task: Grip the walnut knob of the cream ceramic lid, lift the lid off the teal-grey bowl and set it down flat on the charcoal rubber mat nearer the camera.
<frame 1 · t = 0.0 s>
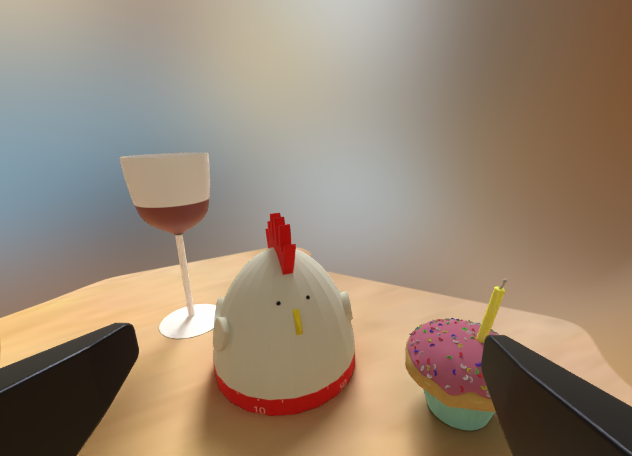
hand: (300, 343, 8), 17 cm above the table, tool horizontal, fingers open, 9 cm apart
kitchen timer: (286, 359, 32), on the table
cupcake: (455, 408, 26), on the table
wineglass: (192, 321, 39), on the table
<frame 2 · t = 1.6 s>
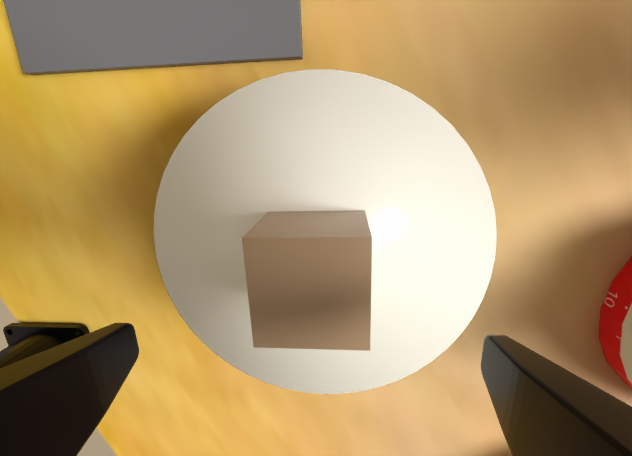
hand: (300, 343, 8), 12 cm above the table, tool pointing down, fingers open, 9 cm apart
lid: (319, 246, 15), point 5 cm above the table, touching bowl
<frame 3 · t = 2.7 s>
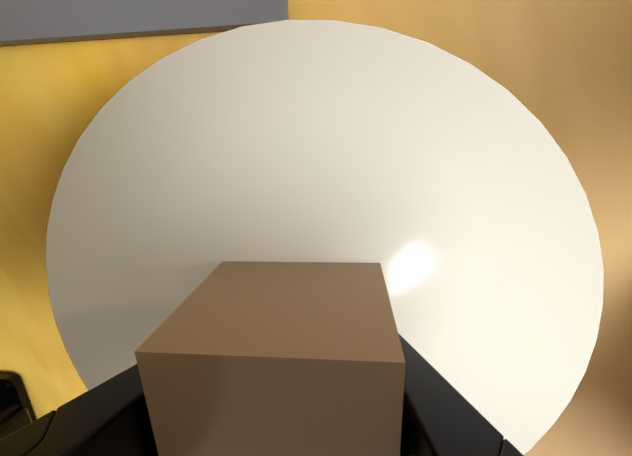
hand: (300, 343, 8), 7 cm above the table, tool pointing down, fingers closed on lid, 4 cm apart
lid: (308, 307, 10), point 5 cm above the table, touching bowl, gripper
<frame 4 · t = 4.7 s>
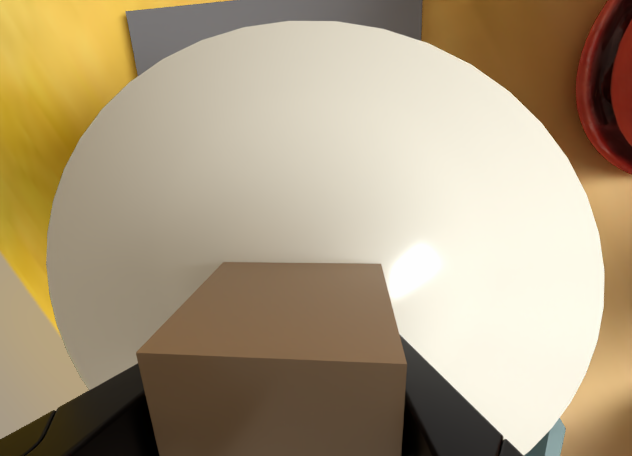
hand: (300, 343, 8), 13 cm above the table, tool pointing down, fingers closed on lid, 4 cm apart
mat: (281, 152, 19), on the table
bowl: (421, 383, 23), on the table
lid: (308, 307, 10), point 11 cm above the table, touching gripper
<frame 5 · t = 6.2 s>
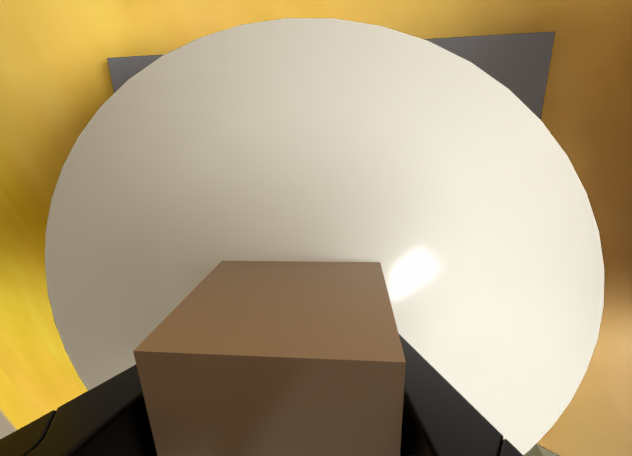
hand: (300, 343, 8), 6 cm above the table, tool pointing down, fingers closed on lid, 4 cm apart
mat: (321, 249, 14), on the table
lid: (307, 306, 10), point 5 cm above the table, touching gripper
when the fingers open (4 cm above the table, at t = 7.0 s): lid drops 1 cm, resting on mat.
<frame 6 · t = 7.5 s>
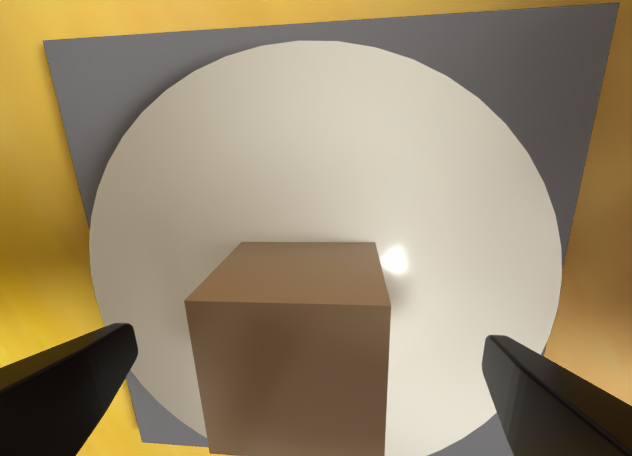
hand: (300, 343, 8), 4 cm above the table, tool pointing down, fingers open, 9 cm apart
mat: (315, 277, 12), on the table
lid: (313, 284, 11), point 1 cm above the table, touching mat
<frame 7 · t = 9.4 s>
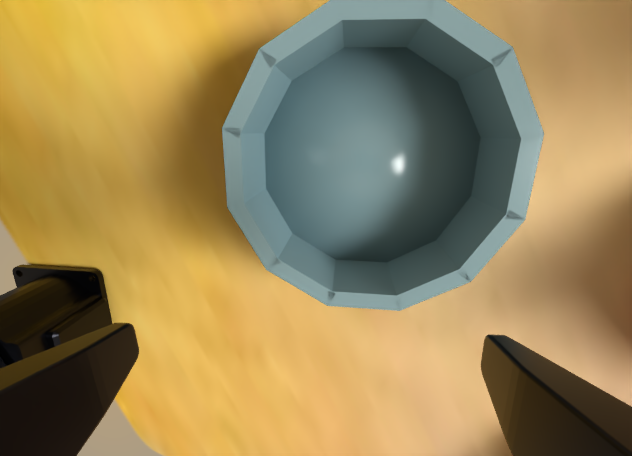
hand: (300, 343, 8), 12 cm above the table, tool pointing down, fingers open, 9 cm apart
bowl: (366, 162, 18), on the table
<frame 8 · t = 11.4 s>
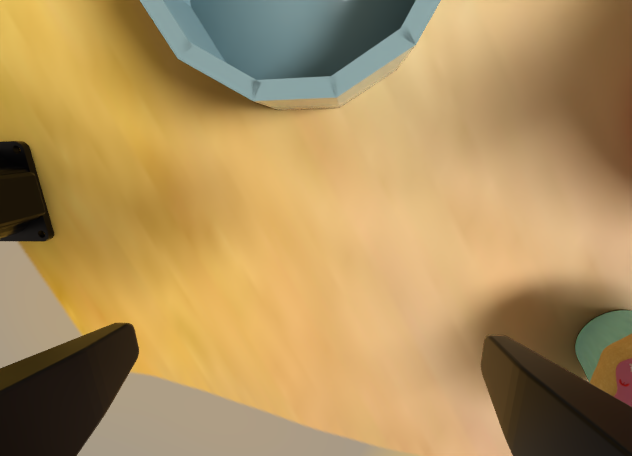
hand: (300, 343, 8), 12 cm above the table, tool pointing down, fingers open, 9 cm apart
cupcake: (611, 338, 20), on the table
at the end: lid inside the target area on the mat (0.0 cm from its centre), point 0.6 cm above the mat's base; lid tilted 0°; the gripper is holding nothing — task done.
